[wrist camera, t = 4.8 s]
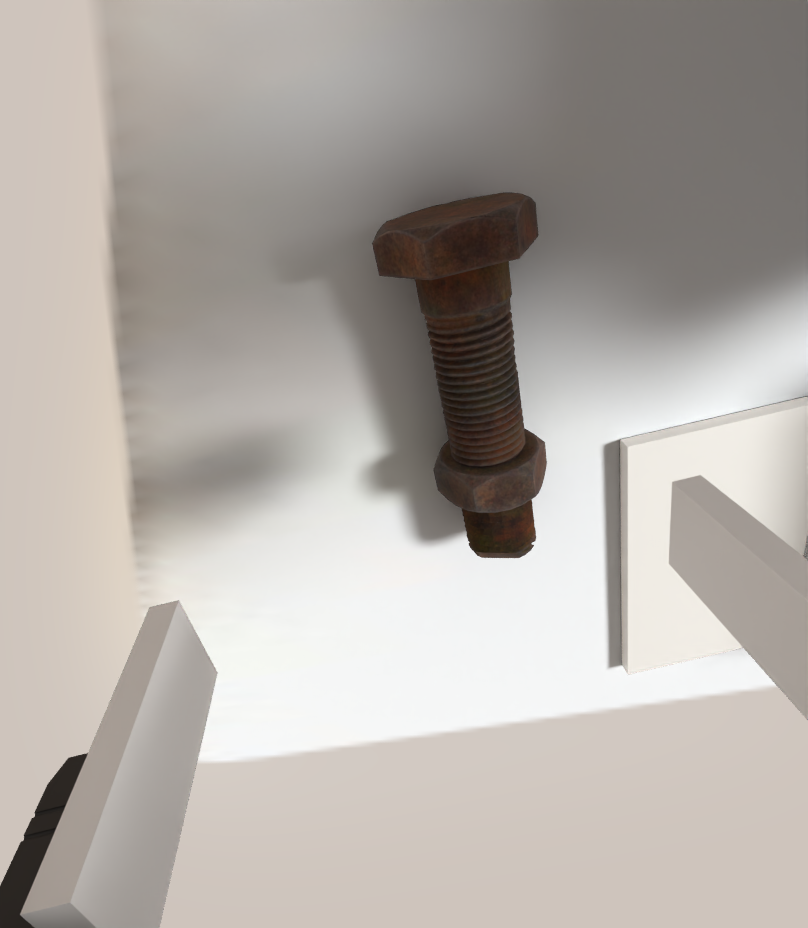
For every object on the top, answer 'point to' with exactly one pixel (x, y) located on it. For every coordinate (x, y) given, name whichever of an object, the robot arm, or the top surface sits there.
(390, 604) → the top surface
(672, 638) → the mat
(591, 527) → the top surface
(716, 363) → the top surface
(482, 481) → the bolt
